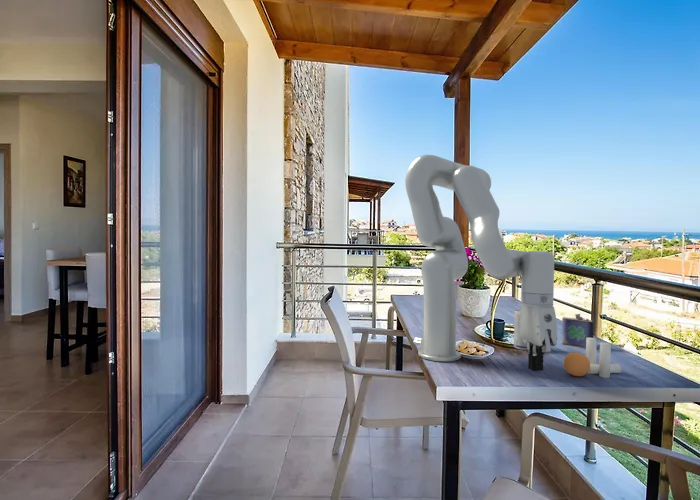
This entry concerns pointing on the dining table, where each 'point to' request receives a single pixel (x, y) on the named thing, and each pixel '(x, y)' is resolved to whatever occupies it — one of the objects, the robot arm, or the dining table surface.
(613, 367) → the front pin
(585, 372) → the ball
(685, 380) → the dining table surface
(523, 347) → the energy drink
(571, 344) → the flask
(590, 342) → the pin
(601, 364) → the pin
